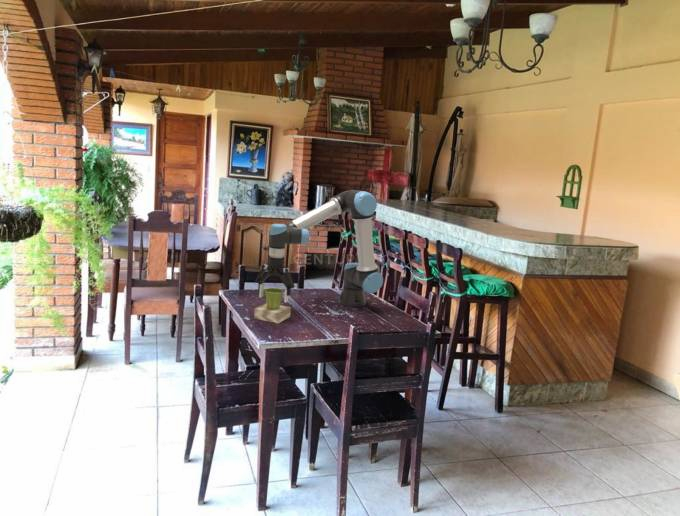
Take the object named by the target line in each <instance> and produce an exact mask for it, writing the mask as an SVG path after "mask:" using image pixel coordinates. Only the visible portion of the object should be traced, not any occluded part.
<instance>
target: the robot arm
mask: <svg viewBox="0 0 680 516" xmlns="http://www.w3.org/2000/svg"><path fill="white" fill-rule="evenodd" d="M377 205H378V203H377V200H376V198H375V196H374V195H373V194H372V193H370V192H368V191H364V190H356V189H349V190H345V191H342V192H341V193H338V194H337V195H335V196H333V197H331V198H330V200H329V201H327V202H326V203H324V204H322V205H319V206H318V207H315V208H313V209H312V210H310V211H308V212H306V213H304V214H302V215H300V216H299V217H298V216H297V218H294V219H292V220H290V221H289V222H286V223H272V224H271V225H270V229H269V247H268V255H269V256H268V261H267V263H268V264H267V263H264V264H261V269H260V270H259V273H258V274H257V277H256V278H255V280H254V281H255V283H258V287H257V290H258V291H259V293H258V294H259V296H258V298H260V299H261V298H263V297H264V293H265V291H264V290H265V283H264V282H265V281H266V280H267V279H268V278H269V277H270V276H275V277H278V278H280V281H281V282H282V283H283V285H284V286H285V289H284V298H283V299H284V300H283V303H287V302H289V296H291V289H294V288H295V287H296V286H295V284H294V281H293V278H292V275H291V269H290V267H286V268H285V267H284V266H285V257H286V255H285V251H286V245H306V244H308V243H309V241H310V232H309V229H310V228H312V227H315V226H317V225H318V224H320V223H321V222H323V221H325V220H327V219H329V218H331V217H334V216H335V215H341V214H343V213H347V212H348V213H350V218H351V220H352V221H353V223H354V229H355V240H356V250H357V251H356V252H357V260H358V261H357V262H348V263H345V265H344V268H343V272H344V273H343V284H342V285H343V286H342V290H341V292H340V295H339V296H338V301H337V302H338V304H339V305H343V306H346V307H352V308H353V307H355V308H357V307H358V308H359V307H361V308H362V307H364V306H366V297H365V293H368V294H374V293H377V292H378V291H379V290H380V289H381V288H382V286H383V284H384V277H383V276H382V274H381V273H380V272H379V266H378V264H377V263H376V261H375V250H374V241H373V228H372V219H373V218H374V214H375V212H376V210H377ZM266 270H267V272H266ZM265 272H266V274H265ZM264 274H265V275H264ZM263 275H264V276H263Z"/></svg>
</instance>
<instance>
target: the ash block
mask: <svg viewBox="0 0 680 516" xmlns="http://www.w3.org/2000/svg"><path fill="white" fill-rule="evenodd" d="M291 309H292V307H291V306H287V305H282V304H280V307H279V309H269V308H268V307H267V303H266V302H265V303H264V304H261V305H259V306H257V307H255V308H254V312H253V313H254V314H253V319H255V320H259V321H265V322H268V323H273V322H274V324H280V323H282V322H283V321H285V320H288V319H289V318H291V312H292V311H291Z"/></svg>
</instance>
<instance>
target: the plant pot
mask: <svg viewBox="0 0 680 516" xmlns="http://www.w3.org/2000/svg"><path fill="white" fill-rule="evenodd" d="M264 293H265V294H264V295H265V299H266V301H265V304H266V303H267V307H268V308H269V309H279V307H280V305H281V302H282V297H283V295H284V293H285V289H282V288H276V287H275V288H274V287H270V288H269V287H268V288H264Z"/></svg>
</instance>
